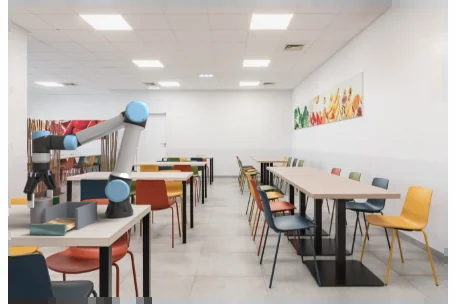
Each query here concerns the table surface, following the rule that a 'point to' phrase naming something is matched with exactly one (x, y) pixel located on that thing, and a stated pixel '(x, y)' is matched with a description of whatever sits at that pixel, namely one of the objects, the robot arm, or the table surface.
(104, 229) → the table surface
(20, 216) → the table surface
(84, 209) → the cradle
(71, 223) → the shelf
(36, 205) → the pillar candle
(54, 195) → the beer bottle
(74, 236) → the table surface
